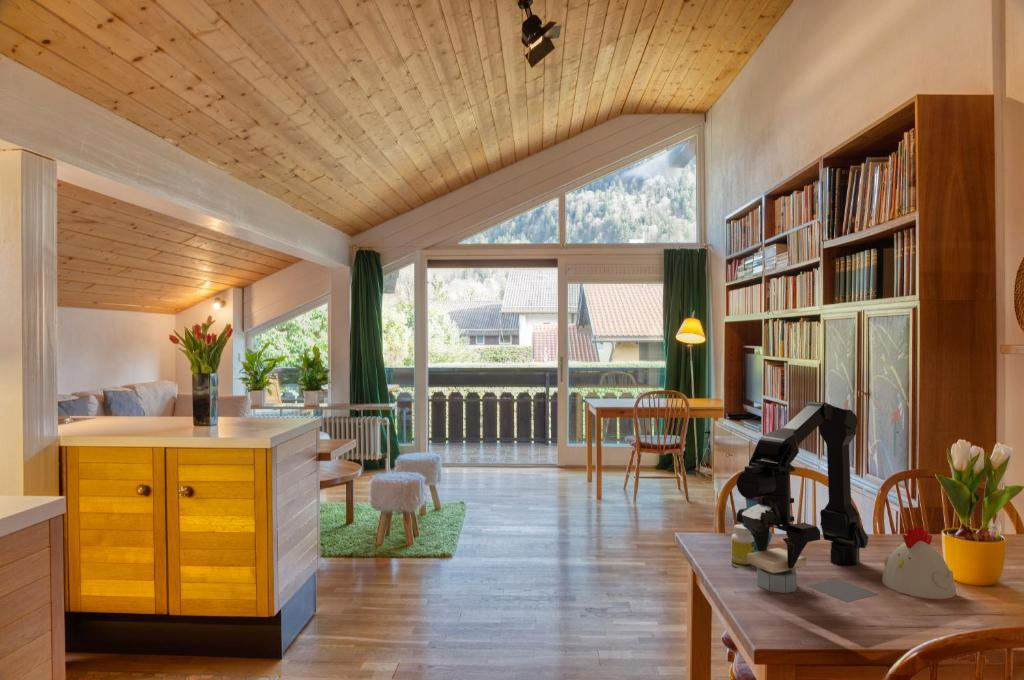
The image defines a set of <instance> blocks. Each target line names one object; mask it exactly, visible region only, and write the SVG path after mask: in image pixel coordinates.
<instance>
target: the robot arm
mask: <svg viewBox="0 0 1024 680" xmlns="http://www.w3.org/2000/svg"><path fill="white" fill-rule="evenodd" d="M857 426H858V417H857V415H856V413H854V412H853V410H851V409H847V408H846V409H845V408H840V407H837V406H834V405H832V404H830V403H828V402H823V401H808V402H807V403H806V404H805V405H804V408H803V409H802V410H801V411H799V413H797V414H796V415H795V416H793V418H791V420H790V421H789V422H787V423H786V424H785V425H784V426H783V427H782V428H780V429H776V430H773V431H769V432H768V433H765V434H764V435H762V436H761V437H760V438H759V439H758V441H757V443H756V446H755V448H754V451H753V453H752V455H751V456H750V459H749V462H748V465H747V466H744V472H741V473H740V474H739V475H738V477H737V480H736V482H735V483H736V488H737V491H738V493H739V494H740V495H741V496H742V497H743V498H745V499H746V498H747V499H753V498H758V497H759V498H758V503H757V505H755V506H752V507H750V508H745V507H744V508H740V509H739V510H738V511H737V513H736V522H737V523H740V524H741V523H743V526H744V527H746V528H747V529H748V530H749V531H750V532H751V533H752V535H753V537H754V540H755V543H756V545H757V548H758V551H764V550H768V547H767V545H768V538H769V531H770V530H771V529H770V528H774V529H777V530H781V531H783V532H785V534H786V536H787V537H786V538H782V540H783V541H784V543H785V544H786V548H787V549H786V550H787V559H788V568H793V567H794V565H795V563H796V561H797V559H798V558H799V556H800V555H801V553H802V551H804V548H805V547H806V545H807V544H808V543H811V542H816V541H820V540H821V532H822V537H823V540H825V541H828V542H829V541H830V542H831V543H830V564H833V565H836V566H847V567H848V566H850V567H853V566H854V567H855V566H859V563H860V549H865V548H867V547H866V546H867V545H868V544H869V543H868V542H869V536H868V534H867V532H866V531H865V529H864V528H863V527H862V525H861V521H860V514H859V512H858V511H857V509H856V508H855V507H854V504H853V503H852V491H851V490H852V489H851V464H850V463H851V461H850V460H851V459H850V458H851V457H850V444H851V442H852V441H853V439H854V437H855V436H856V435H857ZM817 428H818V433H819V435H820V437H821V438H822V440H823V441H824V443H826V458H827V460H826V461H827V483H828V484H827V485H828V487H827V488H828V489H827V490H828V502H827V504H826V506H825V507H824V508H822V509H821V510H820V524H819V525H820V528H821V530H820V529H819V527H818V526H817V525H815V524H814V525H813V524H810V523H807V522H798V523H791V522H795V516H793V515H791V504H794V503H795V498H794V497H791V473H792V472H793V473H794V472H795V471H796V467H794V466H793V465H792V464H791V463H792V462H793V461H795V458H796V457H797V456H798V454H799V453H800V450H799V449H800V448H799V447H800V445H801V443H802V442H803V441H804V440H805V439H806V438H807V437H809V435H810V434H811V433H813V432H814V431H815V430H816V429H817ZM770 532H771V531H770Z"/></svg>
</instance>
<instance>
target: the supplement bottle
mask: <svg viewBox="0 0 1024 680" xmlns="http://www.w3.org/2000/svg"><path fill="white" fill-rule="evenodd" d="M733 530H734V533H732V534H731V538H730V539H731V540H730V541H731V542H730V543H731V544H730V545H731V546H730V551H731V552H730V555H731V556H730V557H731V558H730V563H731V565H732V566H733V567H734V568H735V567H736V568H738V569H740V568H745V567H750V566H753V565H752V564H749V563H747V554H748V553H753V552H754V538H753V536H751V535H750V534H751V532H750V531H749V530H748V529H747V528H746V527H744V526H743V525H742V524H741V523H740V524H734V528H733Z"/></svg>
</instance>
